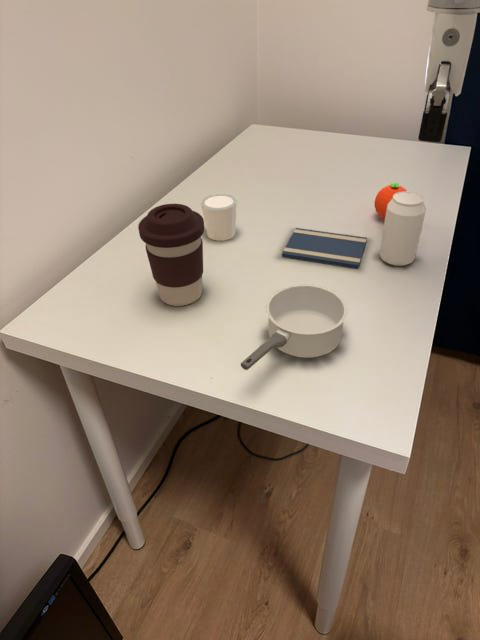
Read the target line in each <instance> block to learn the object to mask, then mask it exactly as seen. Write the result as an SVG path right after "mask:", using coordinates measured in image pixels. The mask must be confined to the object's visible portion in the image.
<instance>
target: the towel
mask: <svg viewBox="0 0 480 640" xmlns="http://www.w3.org/2000/svg"><path fill="white" fill-rule="evenodd" d="M367 241H368V237H365V236H357V235H350V234H344V233H335V232H328V231H321V230H315V229H307V228H300V227H295V228H294V230H293V232H292V234H291V236H290V238H289V239H288V242H287V243H286V245H285V247H284V248H283V250H282V252H281V257H282V258H286V259H293V260H300V261H306V262H312V263H317V264H325V265H331V266H337V267H338V266H339V267H344V268H350V269H357V270H358V269H359V268H360V264H361V261H362V258H363V255H364V251H365V248H366V246H367Z"/></svg>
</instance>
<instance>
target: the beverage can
mask: <svg viewBox="0 0 480 640" xmlns="http://www.w3.org/2000/svg"><path fill="white" fill-rule="evenodd" d="M426 211H427V208H426V204H425V198H424V196H423V195H422V194H420V193H418V192H414V191H411V190H410V191H409V190H407V191H402V192H398V193H395V194H394V195H393V198H392V200H391V201H390V202H389V203H388V205H387V210H386V216H385V219H384V222H383V228H382V234H381V240H380V245H379V247H380V248H379V257H380V259H381V260H382V261H383V262H385V263H386V264H388V265H391V266H395V267H402V266H406V265H409V264H412V263H413V262H414V261H415V259H416V255H417V252H418V247H419V243H420V242H419V241H420V238H421V233H422V228H423V225H424V220H425V215H426Z"/></svg>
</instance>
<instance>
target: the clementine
mask: <svg viewBox="0 0 480 640" xmlns="http://www.w3.org/2000/svg"><path fill="white" fill-rule="evenodd" d="M402 191H408V190H407V189H406V188H405V187H404V186H402V185H399V183H398V182H391V184H389V185H386V186H384V187H382V188H381V189H380V190H379V191H378V192H377V194H376V195H375V199H374V209H375V212H376V213H377V215H378V216H379V217H380V218H382V219H384V220H385V216H386V210H387V205H388V203H389V202H390V201H391V200H392V198H393V195H394V194H395V193H398V192H402Z"/></svg>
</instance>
